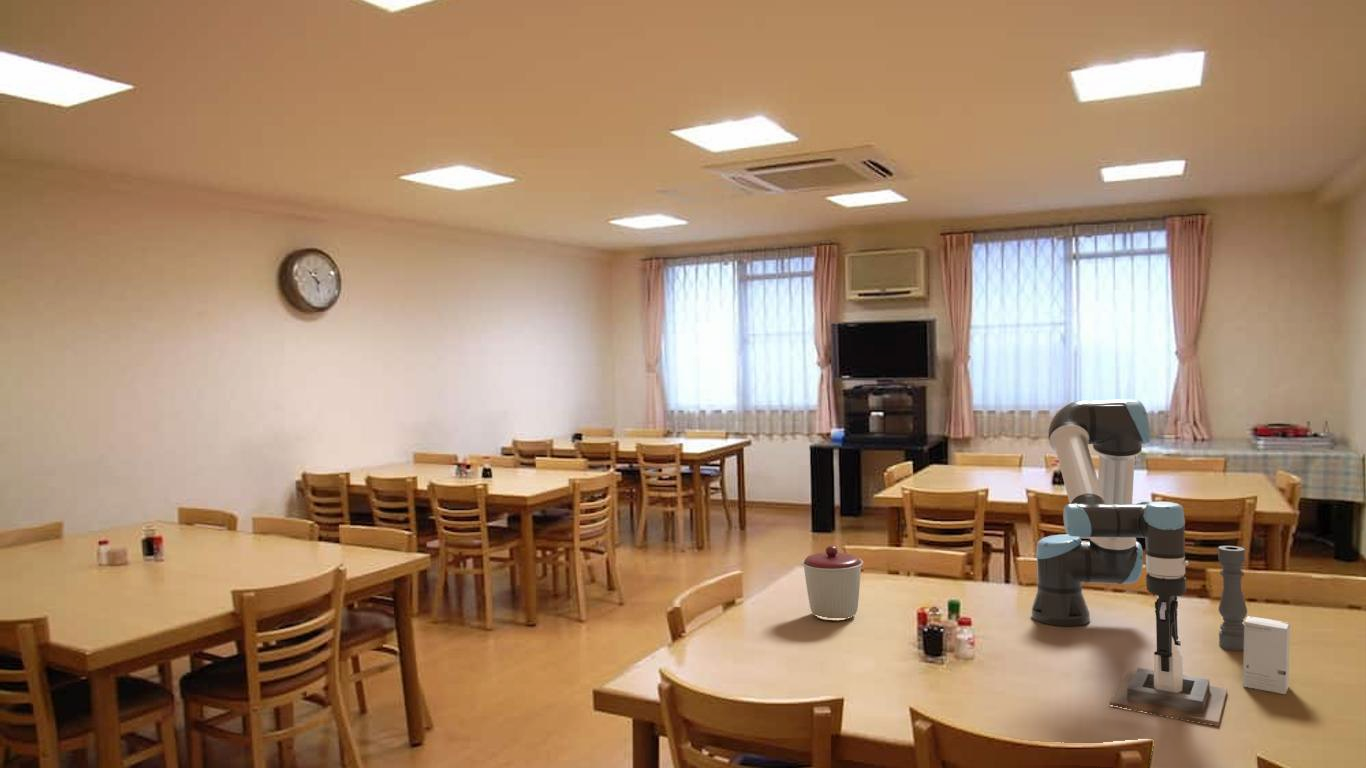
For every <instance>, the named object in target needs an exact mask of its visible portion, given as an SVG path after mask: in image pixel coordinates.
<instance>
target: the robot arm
mask: <svg viewBox="0 0 1366 768" xmlns="http://www.w3.org/2000/svg"><path fill="white" fill-rule="evenodd" d="M1048 440H1049V445H1050V447H1051V449H1052V450H1053V451H1054V452H1056V456H1057V459H1058V464H1059V467H1060V472H1061V475H1062V479H1063V483H1064V487H1065V491H1066V495H1067V499H1068V503H1069V504H1066V505H1065V506H1064V508H1063V511H1062V513H1063V515H1062V517H1063V525H1064V527H1063V528H1064V531H1065V533H1066V534H1054V535H1048V536H1045V537H1042V538H1041V539H1039V540H1038V541H1037V543H1036V551H1035V553H1036V554H1035V559H1036V570H1037V571H1036V576H1037V577H1036V579H1037V582H1036V583H1037V590H1036V591H1037V592H1036V594H1035V597H1034V600H1033V603H1032V607H1031V617H1032V619H1033V620H1035V621H1037V622H1040V623H1043V624H1046V625H1051V626H1060V627H1076V626H1084V625H1086V624H1088V623H1089V622H1090V618H1091V616H1090V615H1091V614H1090V610H1089V607H1088V605H1087V602H1086V600H1085V597H1084V594H1083V584H1086V583H1087V584H1117V585H1124V584H1134V583H1136V582H1138V580H1139V579H1140V577H1141V575H1142V571H1143V565H1144V564H1143V563H1144V561H1145V572H1146V573H1147V574H1146V576H1145V581H1146V590H1147V592H1149V593H1150V594H1153V595H1156V596H1157V597H1158V598H1156V601H1155V602H1154V609H1155V610H1154V613H1155V621H1156V625H1155V626H1156V627H1155V628H1156V630H1155V631H1156V650H1157V651H1156V650H1155V651H1153V656H1154V655H1158V669H1159V685H1165V686H1171V687H1173V686H1174V678H1173V656H1172V637H1173V639H1174V643H1175V646H1176V647H1177V648H1178V646H1181V642H1182V641H1180V640H1178V639H1179V635H1178V634H1179V633H1178V606H1179V603H1178V602H1179V601H1178V597H1182V596H1184V595H1185V594H1186V592H1187V579H1186V577H1185V575H1186V566H1189V564H1190V563H1189V562H1188V560H1185V559H1186V546H1185V545H1186V541H1185V535H1186V534H1185V525H1186V519H1185V513H1184V508H1183V507H1184V506H1182V505H1181V504H1179V503H1176V502H1172V501H1140V502H1137V503H1135V504H1133V496H1134V495H1133V494H1134V493H1133V491H1134V475H1135V474H1134V473H1135V457H1136V456H1138V455H1139V454H1141V452H1142V448H1143V447H1142V446H1143V445H1146V444H1149V443H1150V440H1151V425H1150V420H1149V416H1148V413H1147V409H1146V408H1145V406H1144V404H1143V403H1142V401H1140V400H1137V399H1125V398H1121V399H1101V400H1100V399H1098V400H1087V399H1086V400H1085V399H1084V400H1076V401H1074V402H1070V403H1068V404H1066V405H1065V406H1063V407H1061V409H1059V410H1058V412H1056V414H1055V415H1054V416H1053V417H1052V420H1051V421H1050V423H1049V428H1048ZM1142 444H1143V445H1142ZM1088 445H1092V449H1093V450H1094V452H1096V453H1097V454H1098V472H1097V473H1098V474H1097V473H1096V469H1095V466H1094V463H1093V460H1092V456H1091V452H1090V450H1089V447H1088ZM1097 475H1098V476H1097ZM1081 538H1089V540H1082V539H1081ZM1137 538H1141V539H1142V538H1143V539H1145V540H1144V542H1145V555H1144V553H1143V548H1142V547H1143V546H1142V544H1141V543H1140V542H1139V541H1137ZM1143 557H1145V560H1144V559H1143Z"/></svg>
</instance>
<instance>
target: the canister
mask: <svg viewBox="0 0 1366 768" xmlns="http://www.w3.org/2000/svg"><path fill="white" fill-rule="evenodd" d="M863 564H864V561H863V560H862V559H861V558H859V557H858V556H856V555H854V554H852V553H847V552H841V551H838V547H836V546H834V545H828V546H827V547H826V548H825V551H824V552H818V553H814V554H810V555H808V556H806V558H803V559H802V560H801V566H803V570H804V571H803V572H804V577H805V586H806V589H807V590H806V591H807V597H808V603H809V608H810V611H811V613H812V614H815V615H818V616H822V617H827V618H848V617H851V616H853V615H854V616H855V615H857V612H858V608H859V607H858V606H859V600H860V599H859V598H860V586H861V583H860V582H861V575H862V574H861V570H862V566H863ZM854 616H853V617H854Z"/></svg>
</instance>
